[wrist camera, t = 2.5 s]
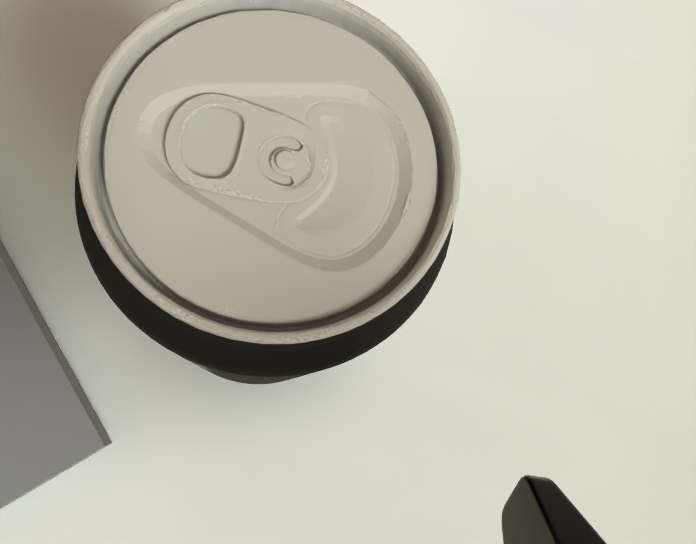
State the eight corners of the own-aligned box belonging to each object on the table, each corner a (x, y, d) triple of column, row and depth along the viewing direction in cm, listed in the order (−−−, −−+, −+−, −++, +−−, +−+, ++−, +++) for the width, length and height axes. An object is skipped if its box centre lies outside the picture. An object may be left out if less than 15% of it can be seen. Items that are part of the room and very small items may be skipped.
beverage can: (331, 403, 20) (449, 419, 8) (136, 359, 19) (-28, 311, 8) (371, 222, 22) (516, 26, 10) (191, 175, 21) (123, -97, 9)
